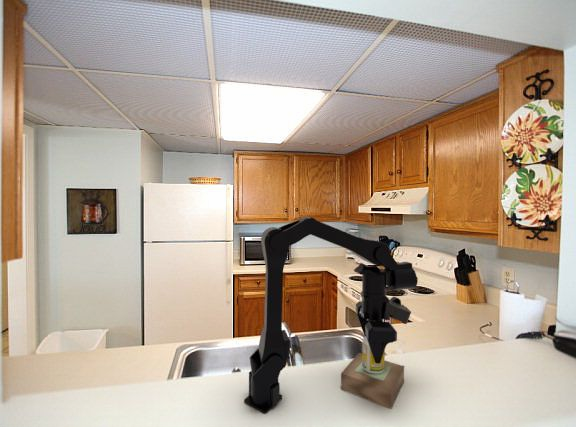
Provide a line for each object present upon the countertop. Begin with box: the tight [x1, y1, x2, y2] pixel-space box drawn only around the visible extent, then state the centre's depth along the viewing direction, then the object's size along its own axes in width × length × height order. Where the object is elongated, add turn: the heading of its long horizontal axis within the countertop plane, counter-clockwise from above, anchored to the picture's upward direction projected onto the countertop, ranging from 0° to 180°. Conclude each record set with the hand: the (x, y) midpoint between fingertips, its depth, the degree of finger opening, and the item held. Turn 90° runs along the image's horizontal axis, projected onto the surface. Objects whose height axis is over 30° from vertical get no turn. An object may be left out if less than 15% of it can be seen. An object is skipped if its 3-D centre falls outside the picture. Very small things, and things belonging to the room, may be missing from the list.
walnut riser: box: [340, 352, 405, 409], centre depth 72 cm, size 12×12×4 cm
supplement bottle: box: [361, 336, 386, 374], centre depth 71 cm, size 5×5×10 cm
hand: (373, 353), depth 71 cm, fingers open, 9 cm apart
